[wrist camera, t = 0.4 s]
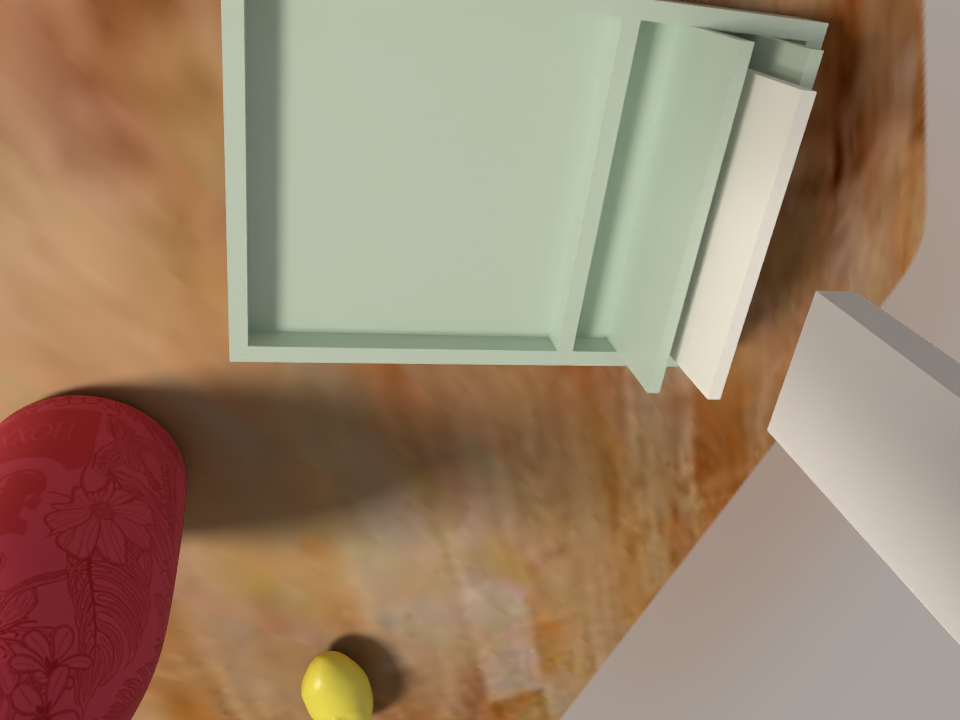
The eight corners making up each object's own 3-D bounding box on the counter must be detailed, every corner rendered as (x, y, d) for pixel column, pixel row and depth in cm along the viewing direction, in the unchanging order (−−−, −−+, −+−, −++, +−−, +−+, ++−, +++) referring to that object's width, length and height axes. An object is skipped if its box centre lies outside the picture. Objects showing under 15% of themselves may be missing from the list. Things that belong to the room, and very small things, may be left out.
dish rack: (224, -60, 30) (202, -51, 22) (796, 16, 36) (933, 45, 28) (233, 336, 38) (218, 443, 30) (701, 344, 44) (787, 436, 36)
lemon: (314, 720, 53) (316, 774, 49) (293, 638, 49) (293, 691, 45) (377, 706, 53) (383, 759, 50) (361, 624, 49) (366, 676, 46)
